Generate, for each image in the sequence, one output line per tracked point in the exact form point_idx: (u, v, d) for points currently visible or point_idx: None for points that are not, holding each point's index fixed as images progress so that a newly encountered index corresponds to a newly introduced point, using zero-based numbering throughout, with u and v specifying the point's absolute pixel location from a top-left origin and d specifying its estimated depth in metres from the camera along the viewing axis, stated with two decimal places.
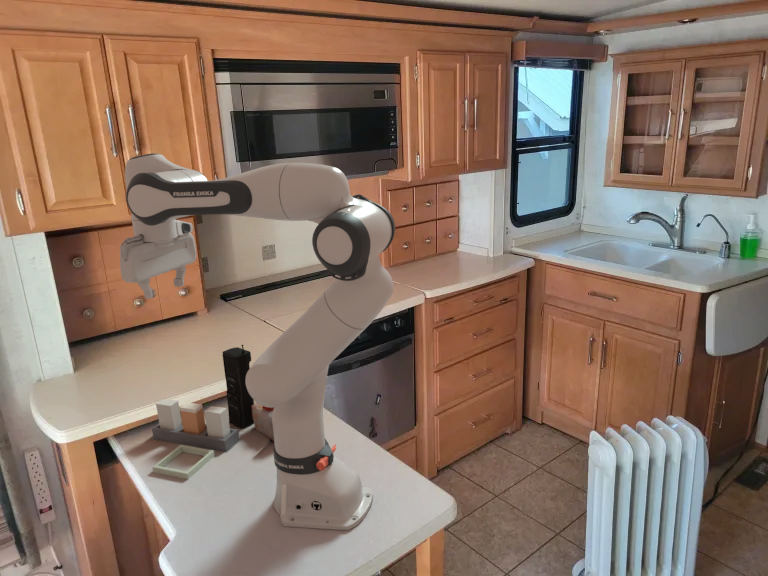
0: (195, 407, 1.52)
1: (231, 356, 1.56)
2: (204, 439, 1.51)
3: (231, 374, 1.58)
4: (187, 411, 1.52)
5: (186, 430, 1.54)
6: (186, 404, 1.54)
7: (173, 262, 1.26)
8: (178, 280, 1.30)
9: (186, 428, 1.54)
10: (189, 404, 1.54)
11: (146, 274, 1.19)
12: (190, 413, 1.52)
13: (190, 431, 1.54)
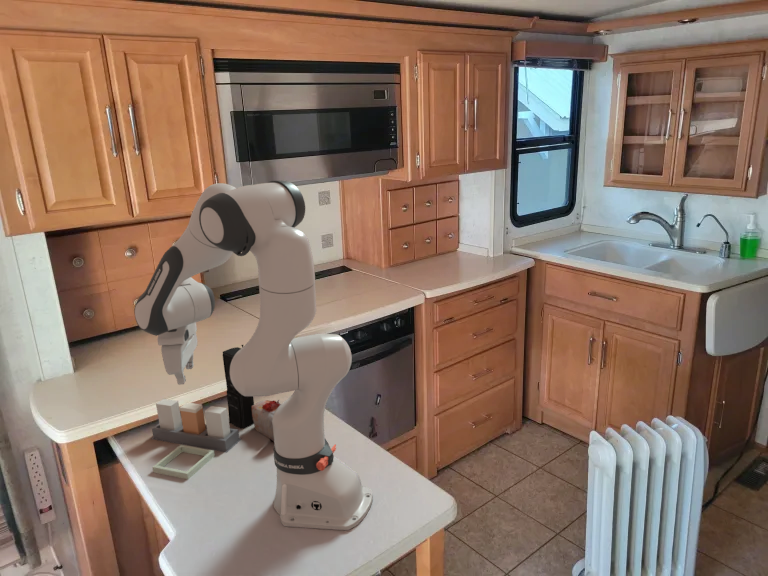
0: (195, 407, 1.52)
1: (231, 356, 1.56)
2: (204, 439, 1.51)
3: None
4: (187, 411, 1.52)
5: (186, 430, 1.54)
6: (186, 404, 1.54)
7: None
8: None
9: (186, 428, 1.54)
10: (189, 404, 1.54)
11: None
12: (190, 413, 1.52)
13: (190, 431, 1.54)
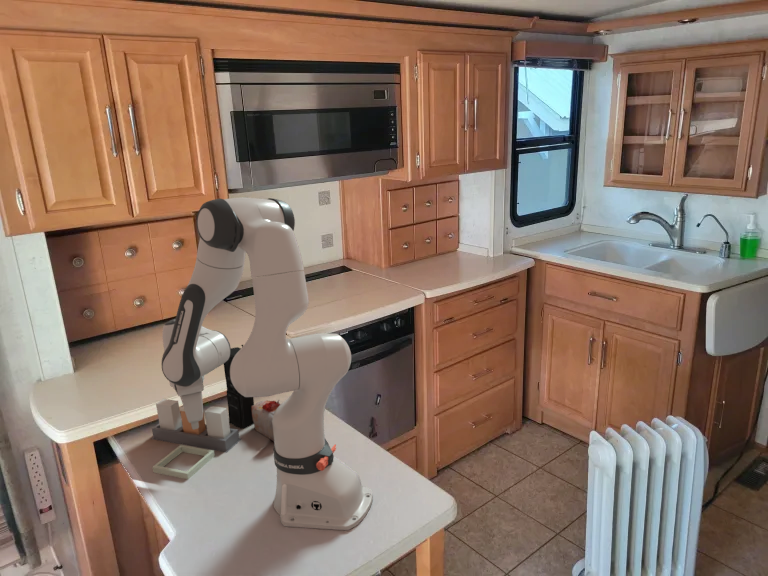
0: None
1: (231, 356, 1.56)
2: (204, 439, 1.51)
3: None
4: None
5: (186, 430, 1.54)
6: None
7: None
8: None
9: (186, 428, 1.54)
10: None
11: None
12: None
13: (190, 431, 1.54)
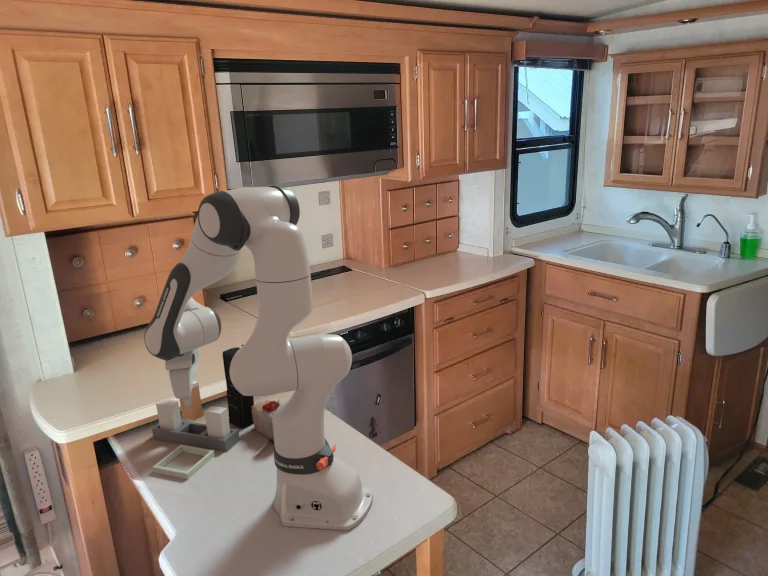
0: None
1: (231, 356, 1.56)
2: (204, 439, 1.51)
3: None
4: None
5: (182, 406, 1.52)
6: None
7: None
8: None
9: (182, 404, 1.52)
10: None
11: None
12: None
13: (186, 408, 1.52)
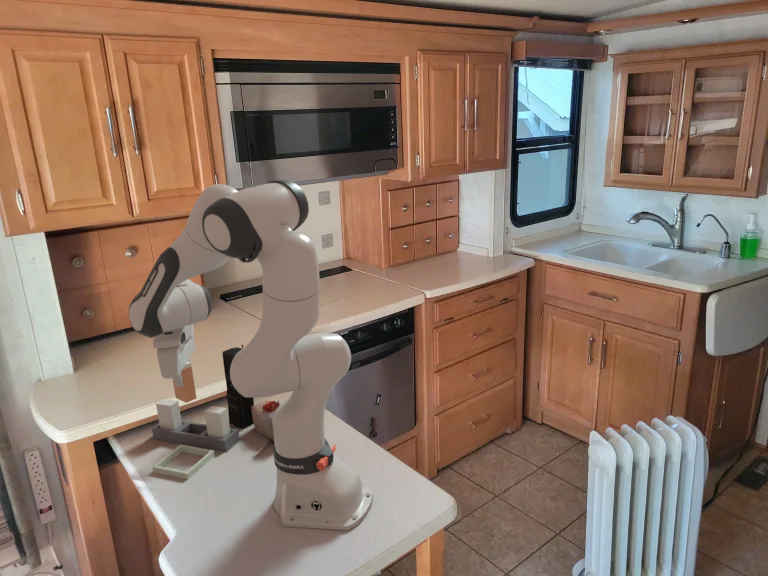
0: None
1: (231, 356, 1.56)
2: (204, 439, 1.51)
3: None
4: None
5: (176, 387, 1.47)
6: None
7: None
8: None
9: None
10: None
11: None
12: None
13: (178, 389, 1.46)
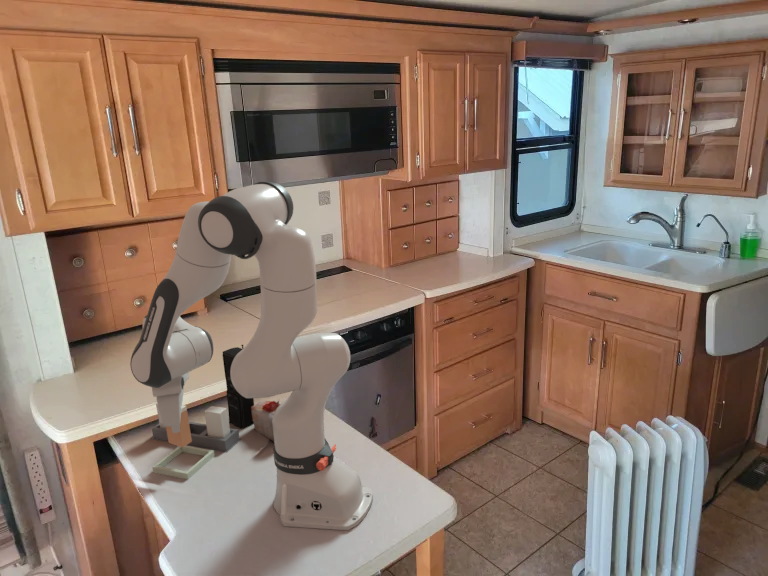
0: None
1: (231, 356, 1.56)
2: (204, 439, 1.51)
3: None
4: None
5: (169, 432, 1.41)
6: None
7: None
8: None
9: (169, 430, 1.41)
10: None
11: None
12: None
13: (173, 434, 1.41)
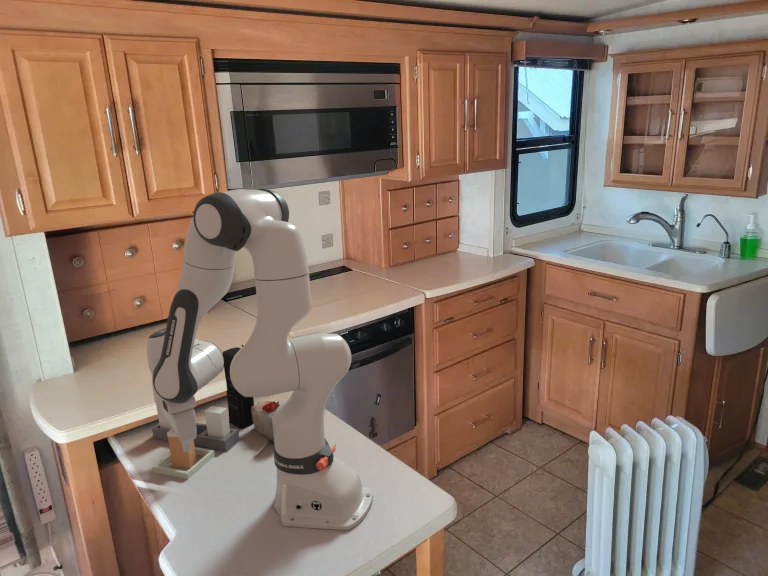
0: None
1: (231, 356, 1.56)
2: (204, 439, 1.51)
3: None
4: (175, 436, 1.40)
5: (174, 457, 1.42)
6: None
7: (172, 424, 1.38)
8: None
9: (174, 454, 1.42)
10: None
11: (163, 413, 1.45)
12: None
13: (179, 457, 1.42)
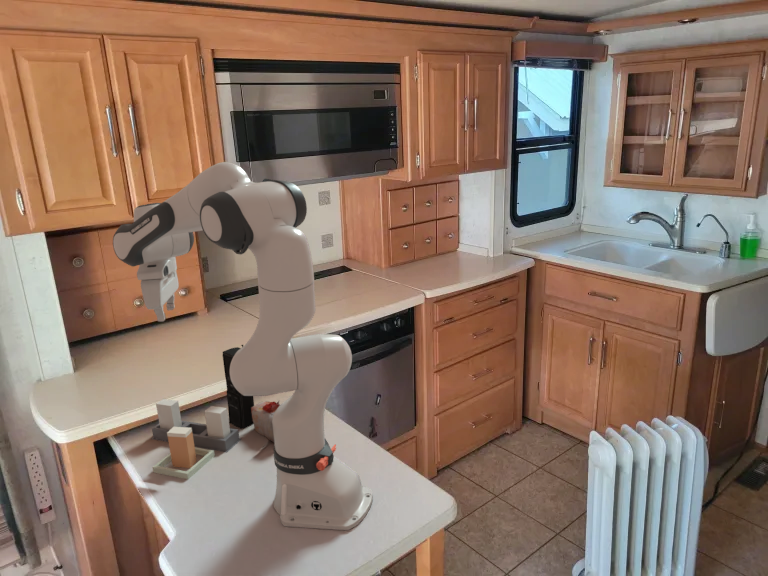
0: (185, 431, 1.41)
1: (231, 356, 1.56)
2: (204, 439, 1.51)
3: None
4: (175, 436, 1.40)
5: (174, 457, 1.42)
6: (173, 429, 1.42)
7: None
8: None
9: (174, 454, 1.42)
10: (177, 428, 1.42)
11: None
12: (179, 438, 1.40)
13: (179, 457, 1.42)
